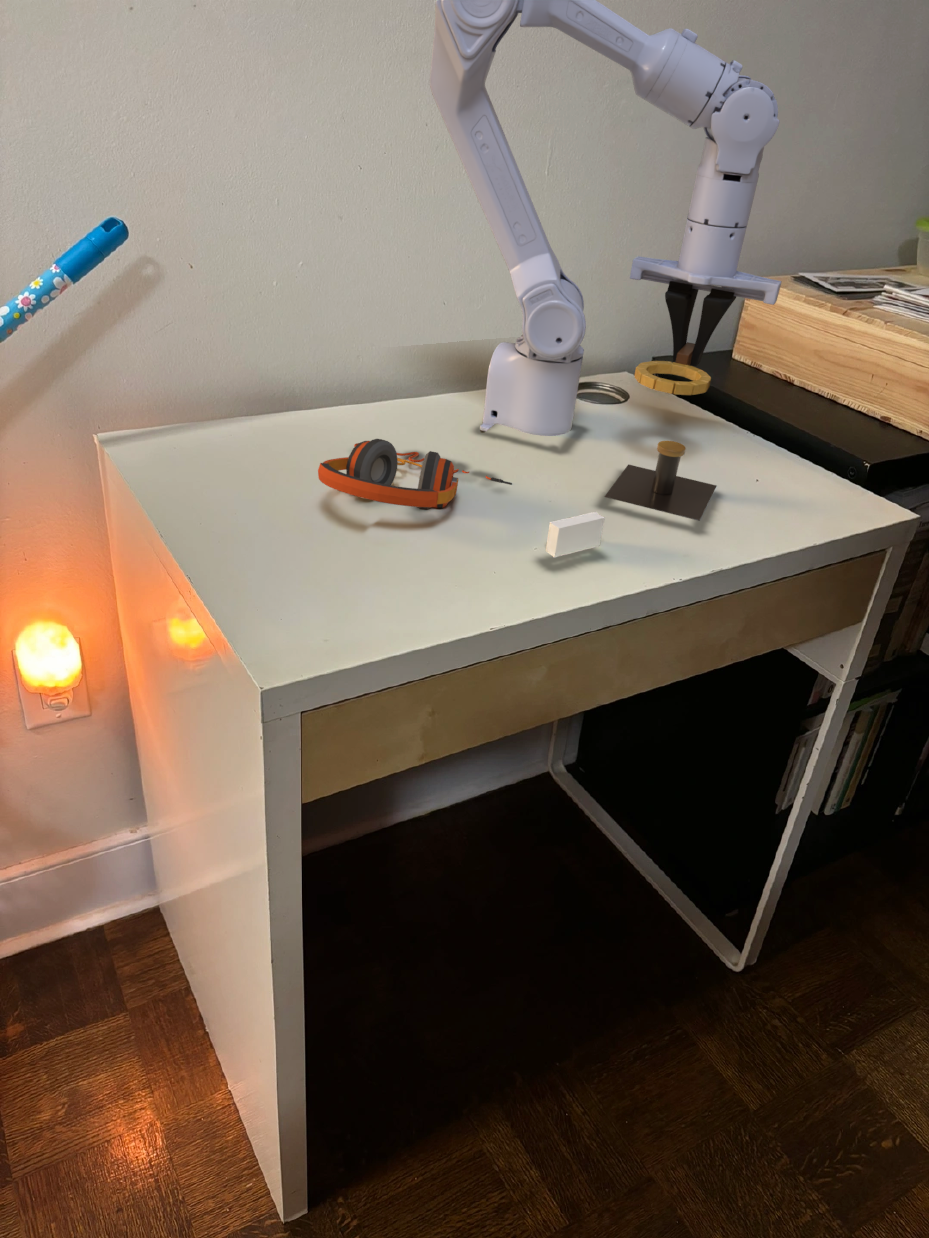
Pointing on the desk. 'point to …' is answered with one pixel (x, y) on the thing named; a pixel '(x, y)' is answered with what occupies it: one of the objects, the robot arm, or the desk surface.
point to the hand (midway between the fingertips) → (686, 361)
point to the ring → (676, 368)
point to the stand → (663, 486)
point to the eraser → (574, 534)
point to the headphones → (391, 476)
